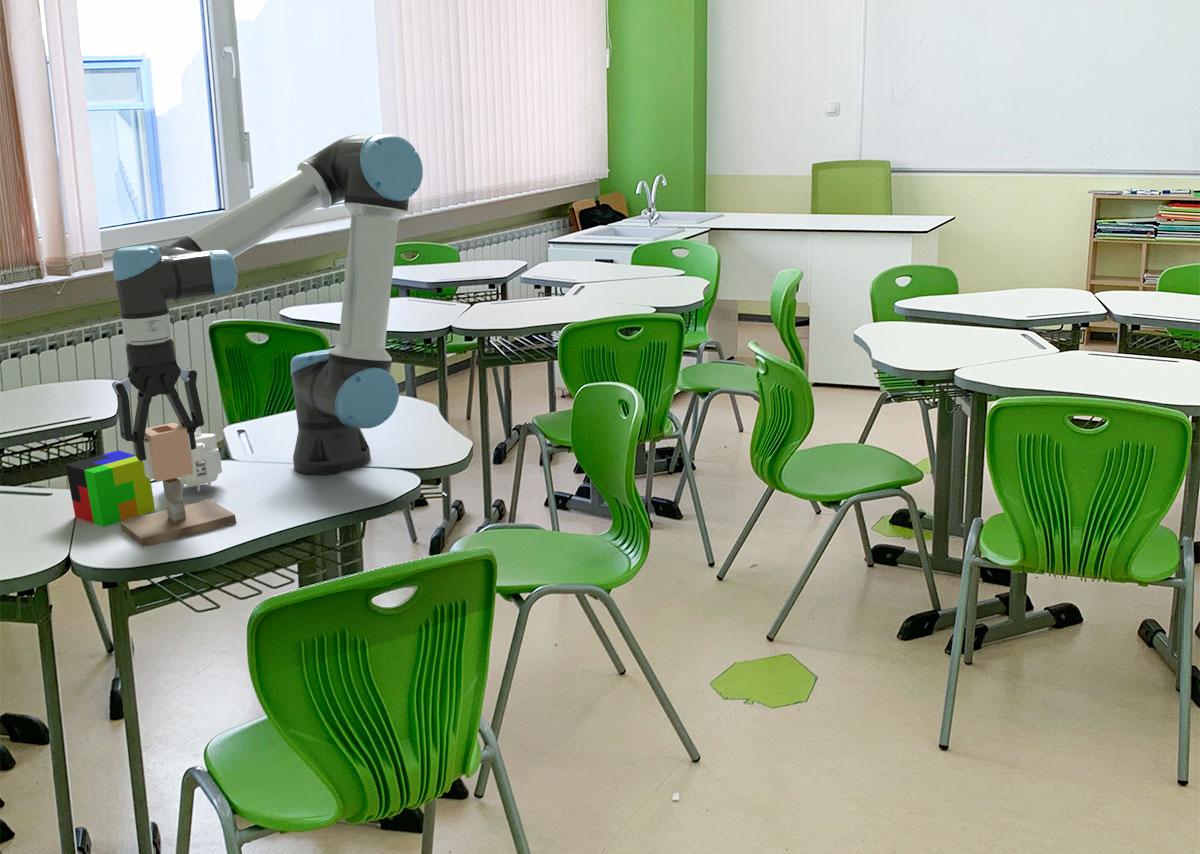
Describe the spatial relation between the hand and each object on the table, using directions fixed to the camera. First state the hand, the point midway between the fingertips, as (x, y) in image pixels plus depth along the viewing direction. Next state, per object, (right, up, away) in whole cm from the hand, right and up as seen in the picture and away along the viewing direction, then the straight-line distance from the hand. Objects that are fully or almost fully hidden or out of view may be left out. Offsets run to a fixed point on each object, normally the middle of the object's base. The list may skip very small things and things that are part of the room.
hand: (169, 472), depth 201 cm
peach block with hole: (0, 0, 0) cm, 0 cm away
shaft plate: (+1, -9, +3) cm, 10 cm away
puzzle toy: (-14, -8, +11) cm, 20 cm away
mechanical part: (-4, -4, +24) cm, 24 cm away
